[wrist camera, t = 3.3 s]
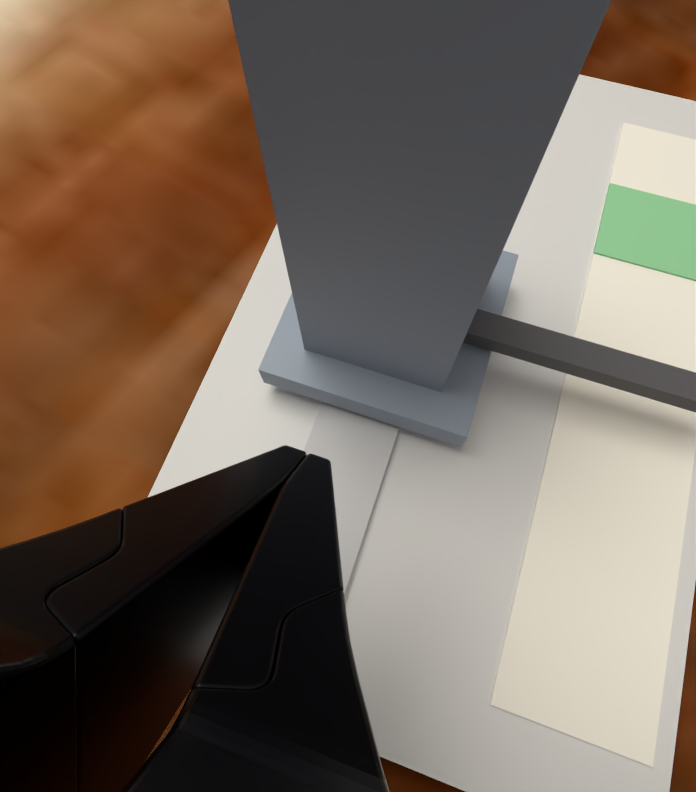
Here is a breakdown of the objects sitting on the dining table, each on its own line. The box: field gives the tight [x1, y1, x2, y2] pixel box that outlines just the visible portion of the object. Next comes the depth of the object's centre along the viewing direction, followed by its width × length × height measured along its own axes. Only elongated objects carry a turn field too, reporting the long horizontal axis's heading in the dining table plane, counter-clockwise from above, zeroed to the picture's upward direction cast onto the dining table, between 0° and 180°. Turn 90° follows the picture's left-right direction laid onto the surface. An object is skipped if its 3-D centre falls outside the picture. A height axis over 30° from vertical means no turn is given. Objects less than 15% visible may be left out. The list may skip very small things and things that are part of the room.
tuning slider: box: [228, 0, 696, 447], centre depth 10 cm, size 6×12×12 cm, turn 71°
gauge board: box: [148, 75, 696, 792], centre depth 17 cm, size 24×15×2 cm, turn 161°
